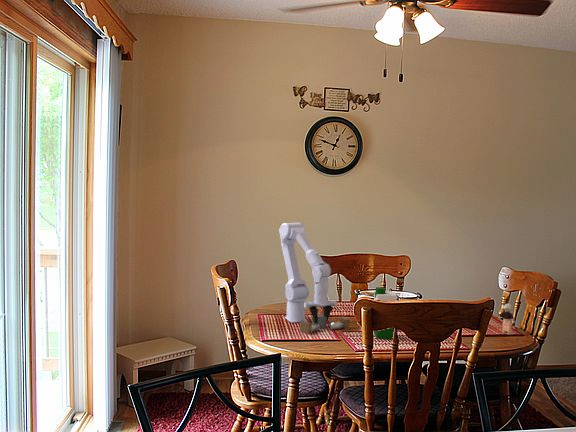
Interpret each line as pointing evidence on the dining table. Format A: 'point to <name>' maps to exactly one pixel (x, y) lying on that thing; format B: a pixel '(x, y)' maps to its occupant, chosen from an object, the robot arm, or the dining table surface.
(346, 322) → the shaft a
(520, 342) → the dining table surface
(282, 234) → the robot arm
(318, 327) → the brown lumpy block
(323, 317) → the coupler
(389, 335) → the milk carton
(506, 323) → the grandmother figurine
